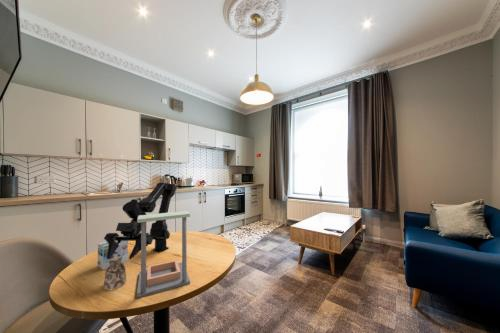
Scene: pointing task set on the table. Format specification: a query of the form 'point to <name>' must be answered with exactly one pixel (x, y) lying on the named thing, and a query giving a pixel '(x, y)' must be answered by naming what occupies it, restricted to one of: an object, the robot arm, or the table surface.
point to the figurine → (115, 273)
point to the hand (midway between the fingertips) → (118, 258)
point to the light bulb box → (121, 250)
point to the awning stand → (163, 273)
